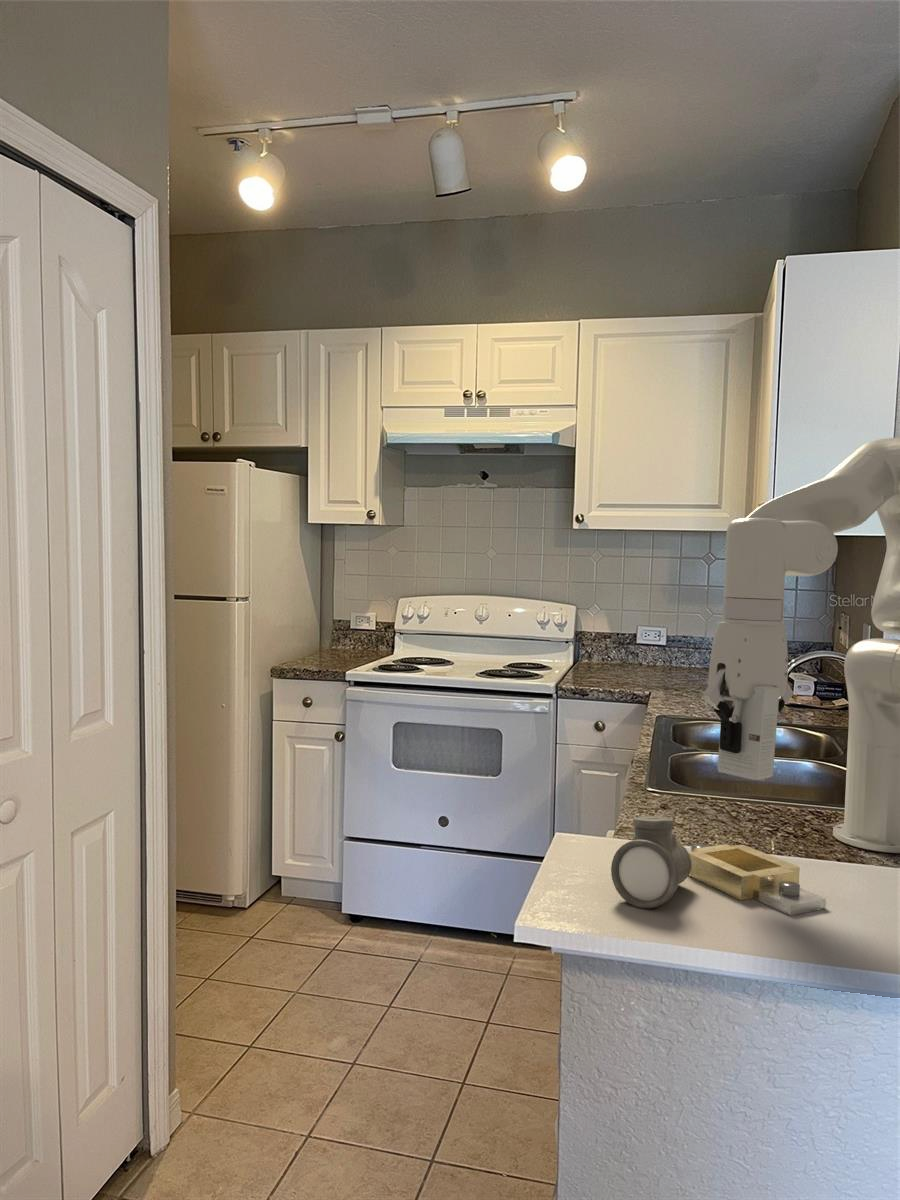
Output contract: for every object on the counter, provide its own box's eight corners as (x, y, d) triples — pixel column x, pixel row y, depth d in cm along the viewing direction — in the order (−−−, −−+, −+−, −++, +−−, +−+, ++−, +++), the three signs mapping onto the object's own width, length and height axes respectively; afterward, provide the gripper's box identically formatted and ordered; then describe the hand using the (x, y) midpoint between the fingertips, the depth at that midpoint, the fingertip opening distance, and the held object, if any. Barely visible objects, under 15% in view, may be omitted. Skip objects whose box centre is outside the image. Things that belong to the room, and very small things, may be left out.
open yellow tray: (711, 852, 129) (712, 832, 129) (837, 906, 109) (838, 882, 109) (657, 860, 124) (658, 839, 124) (778, 917, 105) (779, 892, 105)
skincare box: (715, 772, 117) (719, 681, 117) (734, 768, 120) (738, 680, 120) (758, 781, 112) (762, 687, 112) (776, 777, 115) (780, 685, 115)
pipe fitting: (673, 914, 104) (673, 825, 105) (609, 904, 108) (609, 819, 109) (703, 896, 114) (703, 815, 115) (644, 888, 118) (644, 810, 119)
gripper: (778, 612, 123) (772, 741, 123) (682, 610, 115) (676, 748, 116) (822, 615, 116) (815, 752, 117) (724, 613, 108) (717, 759, 109)
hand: (746, 748), depth 116 cm, fingers closed on skincare box, 5 cm apart
